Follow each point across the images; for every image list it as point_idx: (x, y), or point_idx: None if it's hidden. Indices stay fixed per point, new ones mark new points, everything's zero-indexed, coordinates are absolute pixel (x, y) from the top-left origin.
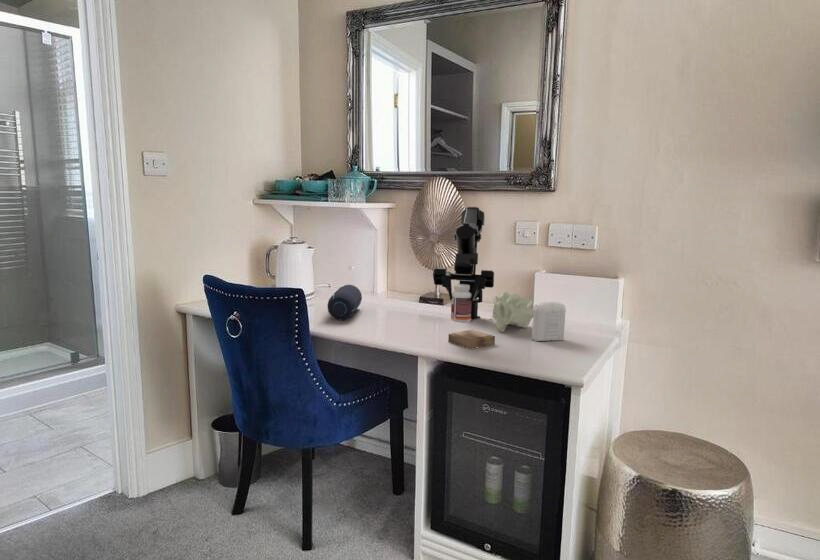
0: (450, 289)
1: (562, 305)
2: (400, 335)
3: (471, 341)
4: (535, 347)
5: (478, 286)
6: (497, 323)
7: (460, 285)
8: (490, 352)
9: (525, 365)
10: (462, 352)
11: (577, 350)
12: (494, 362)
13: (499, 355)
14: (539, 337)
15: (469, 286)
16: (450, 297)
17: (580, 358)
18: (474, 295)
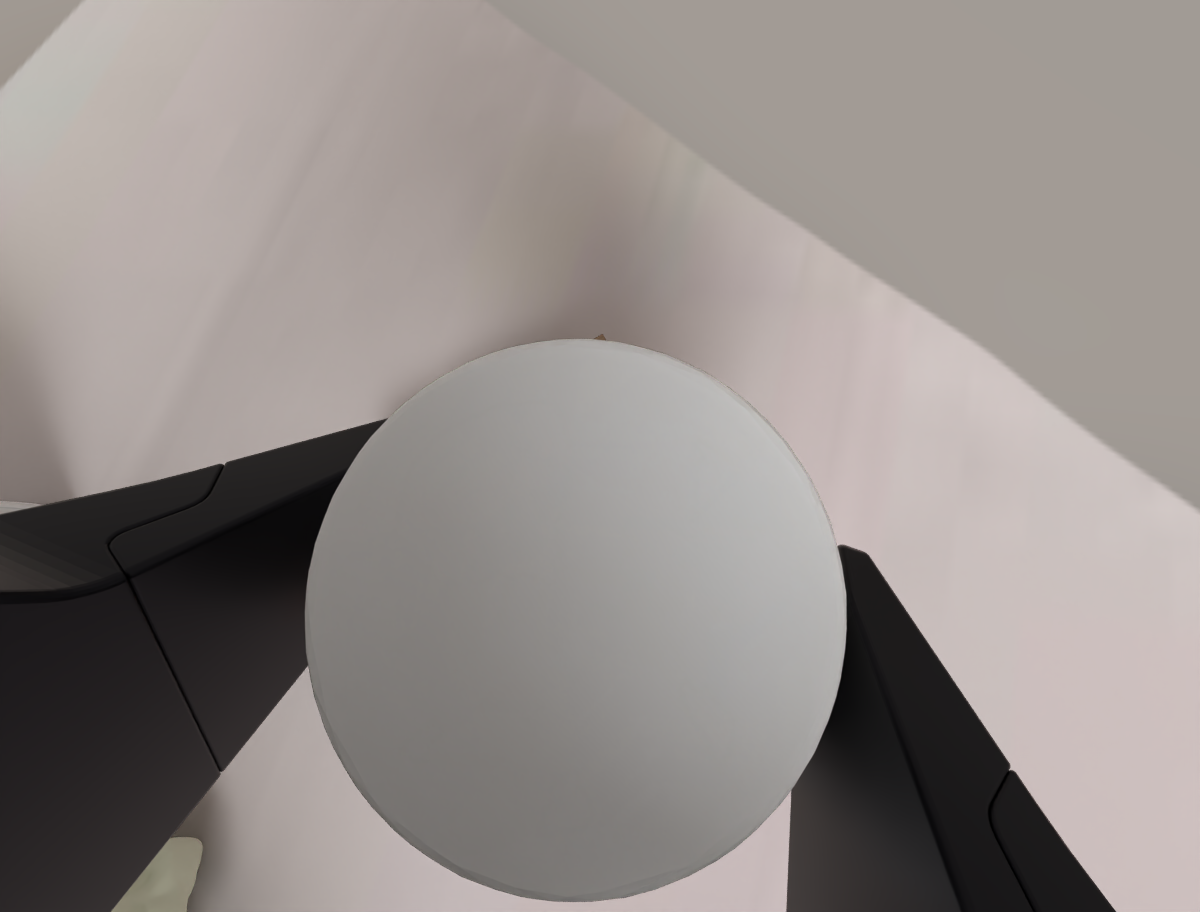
0: (912, 709)
1: None
2: (1167, 865)
3: (602, 335)
4: (159, 372)
5: (72, 516)
6: (165, 897)
7: (631, 559)
8: (498, 277)
9: (392, 29)
10: (690, 287)
11: None
12: (546, 81)
13: (464, 211)
14: (28, 503)
15: (355, 462)
16: (858, 554)
17: (35, 140)
18: (360, 432)
